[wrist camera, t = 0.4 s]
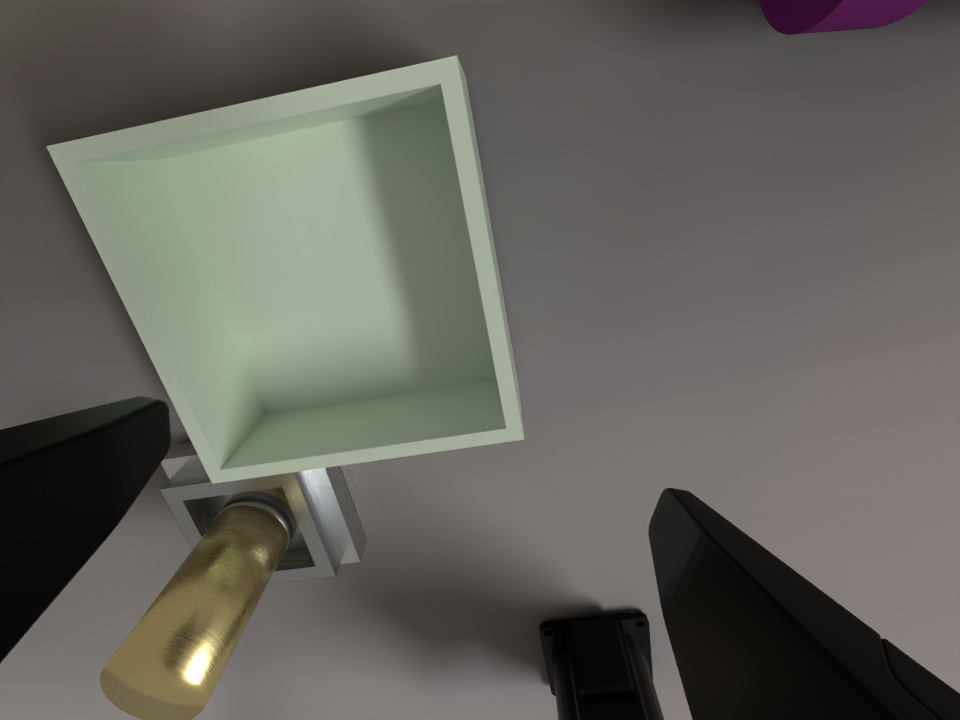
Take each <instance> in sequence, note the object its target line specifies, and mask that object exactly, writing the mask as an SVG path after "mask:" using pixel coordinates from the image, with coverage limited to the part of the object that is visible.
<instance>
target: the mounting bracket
mask: <svg viewBox="0 0 960 720" xmlns="http://www.w3.org/2000/svg"><path fill="white" fill-rule="evenodd" d="M927 1H929V0H760V4H761V7H762V10H763V13H764V15H765V17H766V19H767V21H768V22H769V24H770V25H771V26H772V27H773V28H774V29H775V30H776V31H778V32H780V33H782V34H788V35H791V34H804V33H817V32H829V31H842V30H854V29H867V28H878V27H882V26H886V25H889V24H891V23H894V22H896V21H898V20H900V19H902V18H904V17H906V16H907V15H909V14H911V13H912V12H914V11H915V10H917V9H918V8H919V7H921V6H922V5H924V4H925V3H926V2H927Z"/></svg>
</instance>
